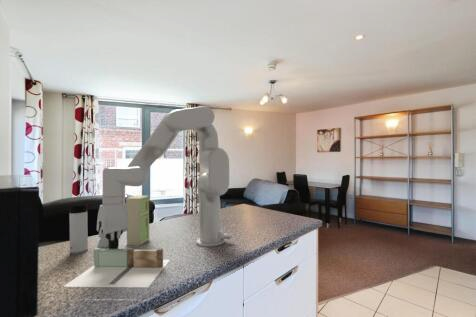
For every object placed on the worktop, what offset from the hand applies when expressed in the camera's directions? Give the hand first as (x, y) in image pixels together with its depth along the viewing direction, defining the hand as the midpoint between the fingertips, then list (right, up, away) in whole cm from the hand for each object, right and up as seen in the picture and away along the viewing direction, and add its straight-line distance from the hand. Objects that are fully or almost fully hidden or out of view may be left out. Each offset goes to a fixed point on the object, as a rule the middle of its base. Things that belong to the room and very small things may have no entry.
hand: (113, 249), depth 92 cm
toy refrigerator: (+1, -5, +22) cm, 23 cm away
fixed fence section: (+13, -4, -5) cm, 15 cm away
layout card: (+7, -5, -8) cm, 12 cm away
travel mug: (-20, -5, +11) cm, 23 cm away
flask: (-12, -5, +19) cm, 23 cm away
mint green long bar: (+1, -4, -4) cm, 6 cm away
